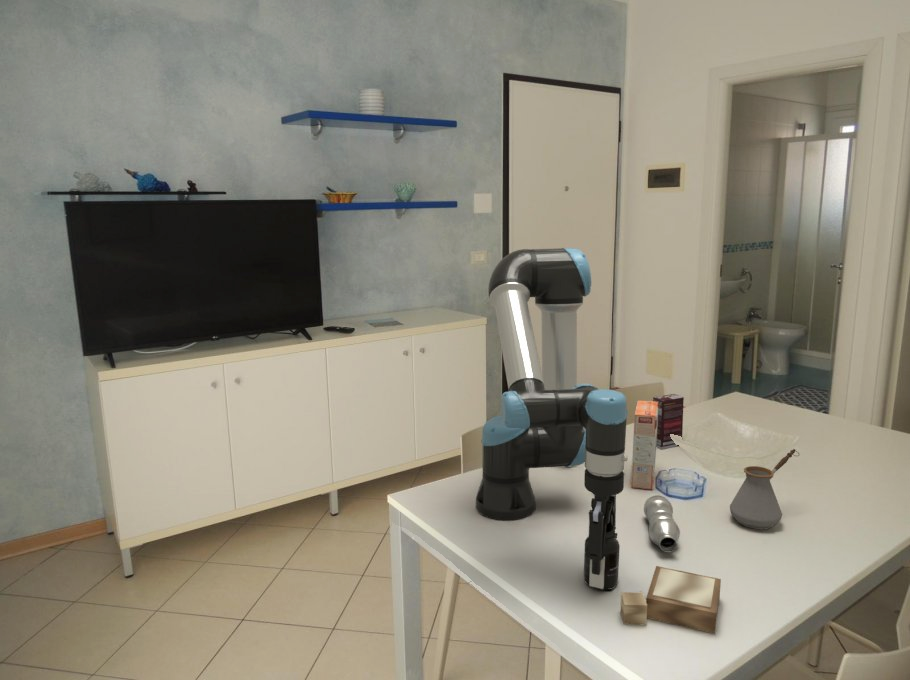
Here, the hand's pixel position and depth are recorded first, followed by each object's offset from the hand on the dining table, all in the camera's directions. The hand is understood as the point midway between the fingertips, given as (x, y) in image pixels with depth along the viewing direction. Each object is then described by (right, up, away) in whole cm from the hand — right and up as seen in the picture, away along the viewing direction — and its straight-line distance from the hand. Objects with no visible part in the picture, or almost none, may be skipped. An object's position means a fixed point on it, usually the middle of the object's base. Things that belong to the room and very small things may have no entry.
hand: (600, 576), depth 134 cm
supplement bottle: (0, -1, 0) cm, 1 cm away
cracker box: (+23, +9, +50) cm, 56 cm away
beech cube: (+4, -4, -11) cm, 12 cm away
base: (+14, -3, -8) cm, 16 cm away
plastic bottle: (+20, +8, +28) cm, 35 cm away
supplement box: (+37, +14, +76) cm, 86 cm away
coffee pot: (+46, +5, +27) cm, 54 cm away
